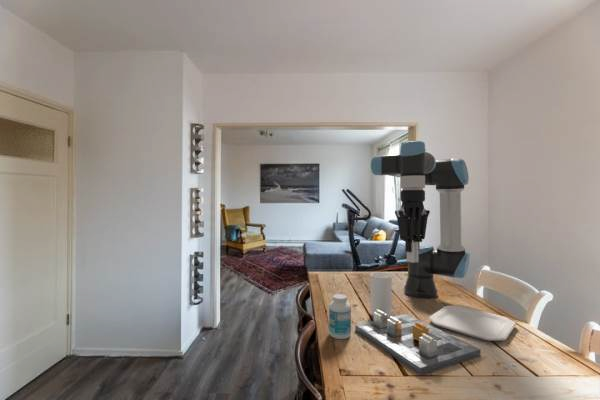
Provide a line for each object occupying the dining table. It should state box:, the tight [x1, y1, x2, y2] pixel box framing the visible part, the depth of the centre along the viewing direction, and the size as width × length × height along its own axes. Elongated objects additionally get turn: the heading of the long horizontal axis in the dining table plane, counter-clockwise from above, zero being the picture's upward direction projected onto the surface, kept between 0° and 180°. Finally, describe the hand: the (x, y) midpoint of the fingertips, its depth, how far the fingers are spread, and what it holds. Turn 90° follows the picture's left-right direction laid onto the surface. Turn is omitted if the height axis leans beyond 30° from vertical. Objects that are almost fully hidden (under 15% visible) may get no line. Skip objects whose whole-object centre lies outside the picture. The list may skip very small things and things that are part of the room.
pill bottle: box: [328, 293, 352, 340], centre depth 104 cm, size 8×7×14 cm
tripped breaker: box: [413, 322, 429, 341], centre depth 96 cm, size 3×4×5 cm
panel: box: [354, 309, 481, 377], centre depth 99 cm, size 24×30×7 cm
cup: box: [370, 272, 393, 318], centre depth 122 cm, size 8×8×16 cm
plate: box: [428, 305, 517, 342], centre depth 112 cm, size 25×25×2 cm
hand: (412, 261), depth 99 cm, fingers closed
